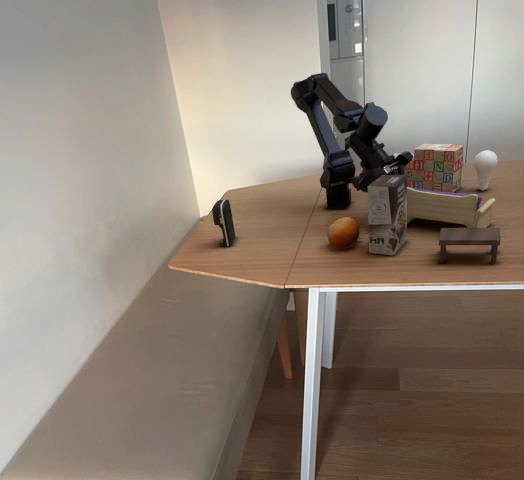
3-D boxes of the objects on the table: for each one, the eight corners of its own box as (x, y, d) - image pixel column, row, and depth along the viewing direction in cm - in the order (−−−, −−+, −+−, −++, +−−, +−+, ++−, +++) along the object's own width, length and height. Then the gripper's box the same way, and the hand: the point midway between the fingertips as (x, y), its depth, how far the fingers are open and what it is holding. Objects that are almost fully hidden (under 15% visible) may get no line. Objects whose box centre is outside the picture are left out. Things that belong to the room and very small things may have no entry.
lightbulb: (470, 193, 147) (473, 154, 141) (472, 187, 152) (475, 148, 146) (494, 193, 145) (498, 152, 139) (494, 186, 149) (498, 147, 143)
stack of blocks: (386, 188, 162) (385, 147, 155) (395, 182, 165) (395, 142, 159) (452, 194, 149) (455, 150, 142) (461, 187, 153) (464, 144, 146)
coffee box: (394, 256, 119) (394, 186, 111) (368, 253, 123) (366, 185, 114) (407, 241, 126) (408, 174, 117) (382, 239, 129) (381, 173, 120)
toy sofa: (493, 225, 126) (498, 183, 121) (479, 238, 121) (483, 195, 116) (415, 215, 139) (415, 177, 134) (398, 226, 134) (399, 187, 129)
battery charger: (223, 238, 145) (215, 198, 139) (236, 237, 144) (229, 197, 138) (217, 248, 139) (209, 206, 133) (231, 247, 139) (223, 205, 132)
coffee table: (437, 263, 113) (439, 240, 110) (440, 250, 118) (441, 228, 115) (497, 264, 109) (500, 240, 106) (497, 251, 114) (499, 227, 111)
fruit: (367, 245, 123) (348, 218, 121) (339, 262, 127) (320, 236, 124) (368, 232, 130) (350, 207, 127) (342, 249, 134) (324, 224, 131)
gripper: (369, 162, 144) (405, 204, 143) (330, 181, 133) (369, 227, 132) (394, 132, 135) (433, 177, 134) (354, 150, 124) (396, 199, 123)
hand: (407, 195), depth 131 cm, fingers closed, pressing on toy sofa
